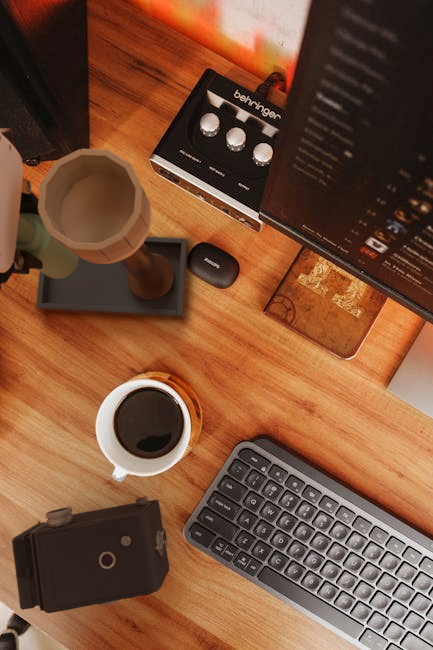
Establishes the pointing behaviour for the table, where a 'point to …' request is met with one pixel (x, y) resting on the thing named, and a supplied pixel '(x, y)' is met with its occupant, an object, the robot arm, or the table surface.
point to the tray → (116, 286)
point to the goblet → (104, 217)
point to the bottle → (44, 247)
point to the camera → (91, 557)
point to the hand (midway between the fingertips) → (28, 237)
